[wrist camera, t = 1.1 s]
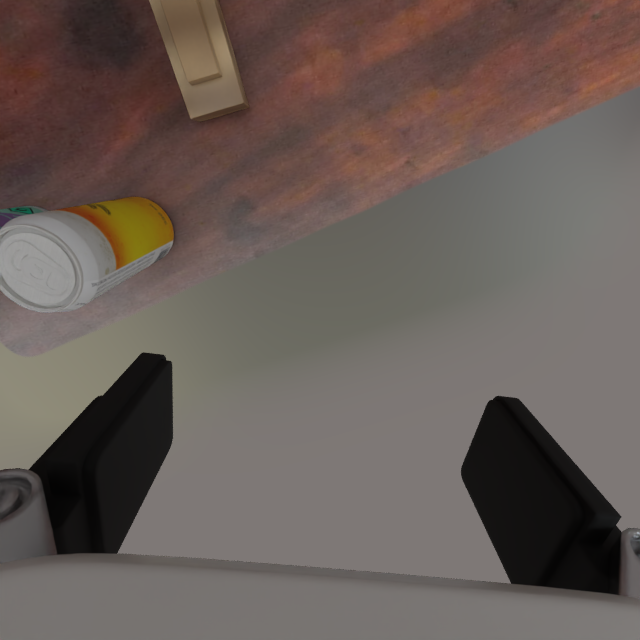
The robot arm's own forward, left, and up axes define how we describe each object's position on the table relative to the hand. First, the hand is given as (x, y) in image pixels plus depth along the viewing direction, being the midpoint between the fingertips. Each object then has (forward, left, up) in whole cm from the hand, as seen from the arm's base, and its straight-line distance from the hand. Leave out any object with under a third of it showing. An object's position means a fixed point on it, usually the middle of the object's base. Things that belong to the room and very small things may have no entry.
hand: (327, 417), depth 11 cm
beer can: (-5, -16, -27) cm, 32 cm away
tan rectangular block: (-18, -5, -27) cm, 33 cm away
